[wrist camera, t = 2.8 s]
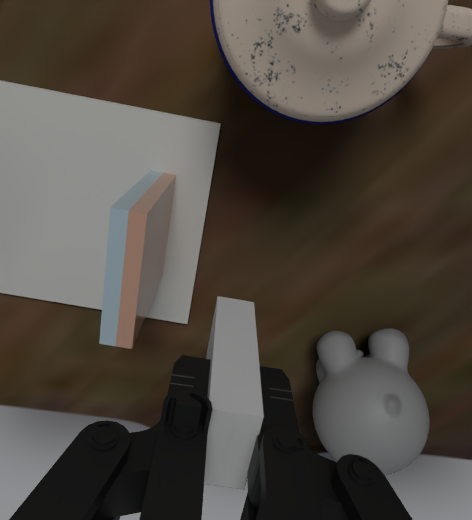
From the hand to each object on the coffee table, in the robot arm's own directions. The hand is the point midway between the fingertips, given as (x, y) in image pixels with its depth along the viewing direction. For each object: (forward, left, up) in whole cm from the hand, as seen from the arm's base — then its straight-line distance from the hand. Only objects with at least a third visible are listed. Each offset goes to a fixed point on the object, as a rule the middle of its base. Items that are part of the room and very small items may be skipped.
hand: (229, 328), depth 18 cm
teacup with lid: (-3, -13, -12) cm, 18 cm away
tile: (+5, 0, -12) cm, 13 cm away
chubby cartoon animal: (-11, +10, -12) cm, 19 cm away
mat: (+11, 0, -12) cm, 16 cm away
